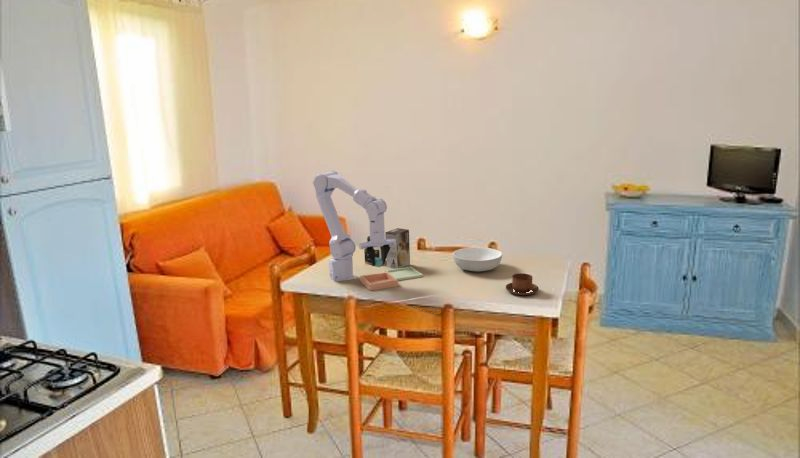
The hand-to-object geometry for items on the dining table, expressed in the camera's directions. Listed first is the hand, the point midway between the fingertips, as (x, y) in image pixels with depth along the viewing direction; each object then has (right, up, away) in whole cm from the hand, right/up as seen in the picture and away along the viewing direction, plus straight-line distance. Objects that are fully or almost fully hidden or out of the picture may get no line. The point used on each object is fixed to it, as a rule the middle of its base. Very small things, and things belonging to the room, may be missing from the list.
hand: (378, 264), depth 215 cm
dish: (0, -8, +2) cm, 8 cm away
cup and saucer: (+54, -10, -9) cm, 56 cm away
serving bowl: (+41, -3, +19) cm, 46 cm away
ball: (0, -1, 0) cm, 1 cm away
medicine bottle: (-3, -1, +32) cm, 32 cm away
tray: (+10, -5, +12) cm, 17 cm away
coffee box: (+8, -3, +25) cm, 26 cm away
